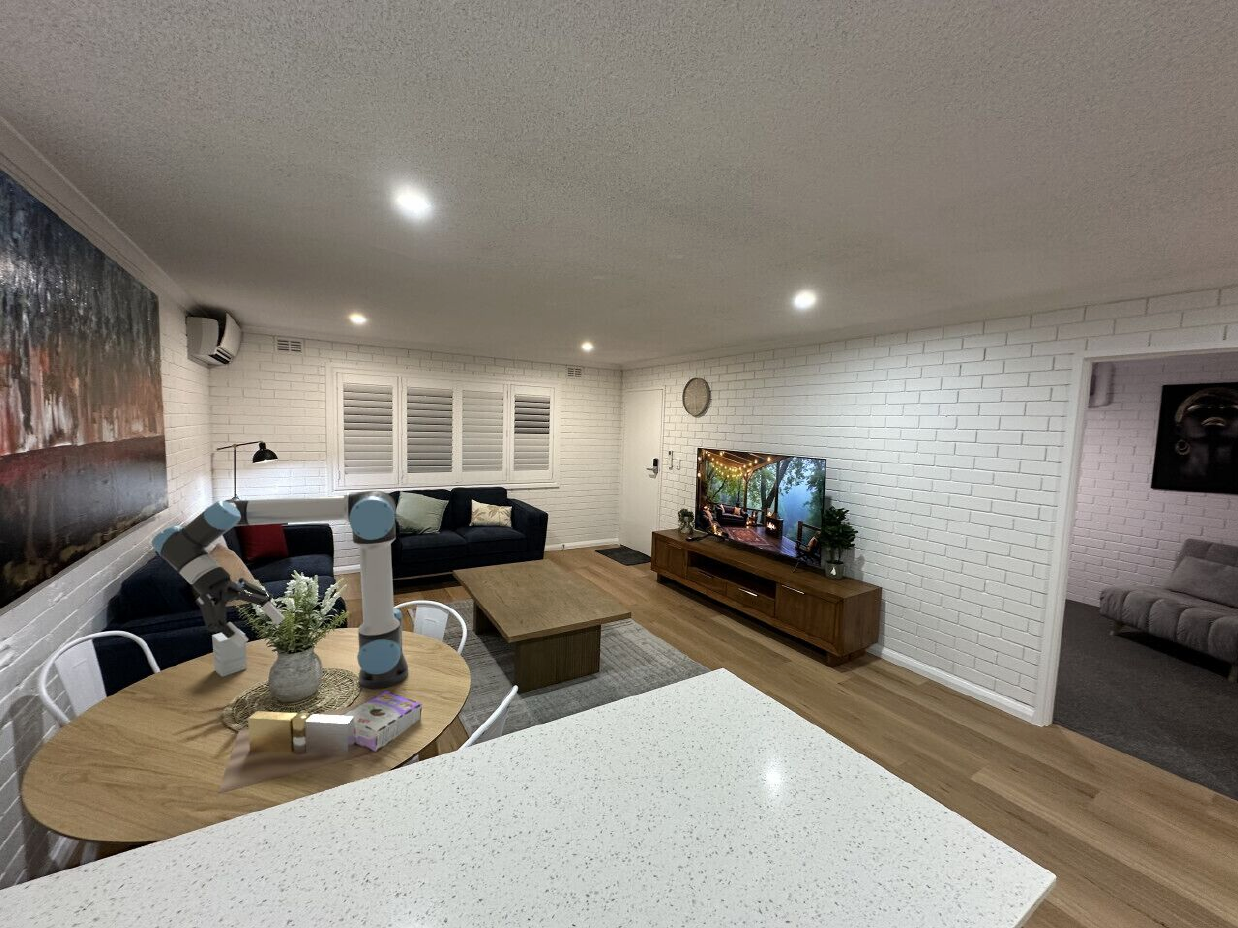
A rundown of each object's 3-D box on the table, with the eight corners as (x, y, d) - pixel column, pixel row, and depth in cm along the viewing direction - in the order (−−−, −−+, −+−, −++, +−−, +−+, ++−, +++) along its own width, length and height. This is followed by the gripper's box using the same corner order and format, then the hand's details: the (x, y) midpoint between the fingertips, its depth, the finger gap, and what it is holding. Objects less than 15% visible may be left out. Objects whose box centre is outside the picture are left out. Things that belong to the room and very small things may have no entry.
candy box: (384, 708, 151) (336, 736, 136) (386, 689, 151) (338, 715, 135) (420, 722, 146) (375, 753, 131) (422, 703, 146) (377, 731, 130)
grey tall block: (239, 661, 176) (237, 627, 174) (247, 668, 171) (245, 633, 170) (213, 670, 170) (211, 634, 168) (221, 677, 165) (219, 641, 164)
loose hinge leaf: (259, 741, 134) (258, 709, 133) (314, 744, 133) (313, 712, 132) (248, 751, 130) (246, 719, 129) (305, 754, 129) (303, 722, 128)
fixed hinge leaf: (300, 743, 133) (299, 712, 132) (355, 746, 133) (354, 715, 132) (290, 754, 129) (288, 721, 128) (346, 757, 129) (346, 724, 128)
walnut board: (239, 734, 138) (239, 730, 138) (368, 705, 153) (368, 702, 153) (218, 797, 116) (218, 793, 116) (371, 756, 131) (371, 752, 131)
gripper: (234, 569, 147) (286, 621, 148) (152, 602, 122) (216, 664, 123) (251, 553, 146) (303, 604, 147) (172, 582, 121) (236, 644, 122)
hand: (263, 631), depth 135 cm, fingers open, 13 cm apart
